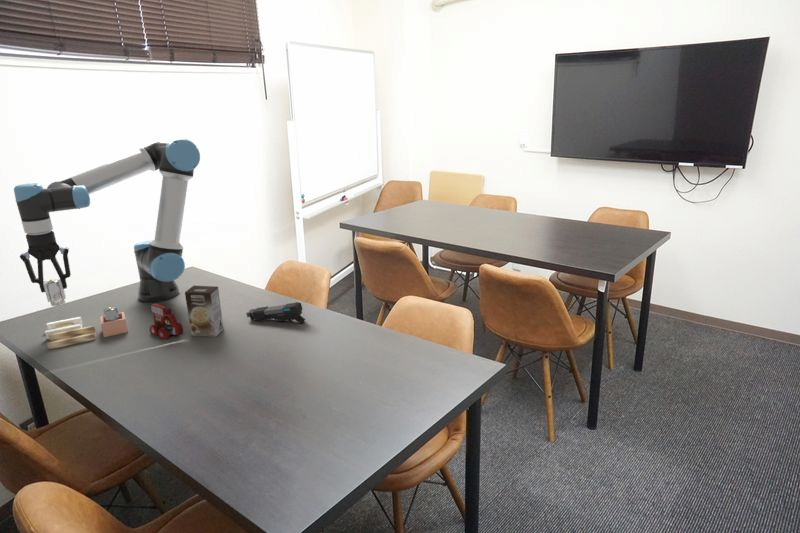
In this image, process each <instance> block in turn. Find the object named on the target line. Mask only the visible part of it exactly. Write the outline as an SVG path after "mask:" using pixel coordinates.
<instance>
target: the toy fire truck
mask: <svg viewBox="0 0 800 533" xmlns="http://www.w3.org/2000/svg"><path fill="white" fill-rule="evenodd" d="M150 308H151V312H152V316H153V322H154V324H151V325H150V326H149V332H150V333H149V334H151V335H153V336H155V337H157V336H158V338H160V339H162V340H168V339H169V338H170V336H172V335H173V336H178V335H180V334H182V333H183V332H184V327H183V325H182V324H181V322H180V321H179V322H178V319H177V317H176V316H175V313H173V310H172V308H171V307H167V306H164V305H161V304H158V303H153V304H150Z"/></svg>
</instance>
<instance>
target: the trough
mask: <svg viewBox="0 0 800 533" xmlns="http://www.w3.org/2000/svg"><path fill="white" fill-rule="evenodd" d="M96 336H97V335H96V328H95V325H90V326H84V327H82V328H80V329H75V330H70V331H65V332H60V333H56V334H51V335H49V339H48V341H49V342H46V344H47V349H48V350H53V349H58V348H62V347H67V346H71V345H77V344H80V343H85V342H90V341H94V340H96V338H97V337H96Z"/></svg>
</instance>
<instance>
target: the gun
mask: <svg viewBox="0 0 800 533" xmlns="http://www.w3.org/2000/svg"><path fill="white" fill-rule="evenodd" d="M245 314H246V317H247V318H249V319H250V321H252V322H253V321H256V320H257V321H259V322H262V321H268V320H274V321H278V322H283V321H284V322H285V321H288V322H289V323H292V322H294V321H296V322H297V323H298V324H300V325H301V324H304V322H305V321H306V318H304V317H303V316H302V315H301V314H303V306H302V303H301V302H300V301H299V302H297V301H295V302H291V303H286V304H280V305H273V306H268V305H267V306H261V307H256V308H250V309H249V310H248V311H247V312H246V313H245Z"/></svg>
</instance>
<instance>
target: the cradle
mask: <svg viewBox="0 0 800 533" xmlns="http://www.w3.org/2000/svg"><path fill="white" fill-rule="evenodd" d="M69 323H73V325H72V326H67V327H62V328H57V329H56V326H59V325H64V324H69ZM46 328H47V330H45V331H44V334H45V337H46V340H49V335H51V334H56V333H60V332H65V331H70V330H75V329H80V328H83V320H82V317H81V316H76V317H71V318H67V319H66V318H65V319H61V320H56V321H52V322H51V321H50V322H46Z"/></svg>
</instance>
